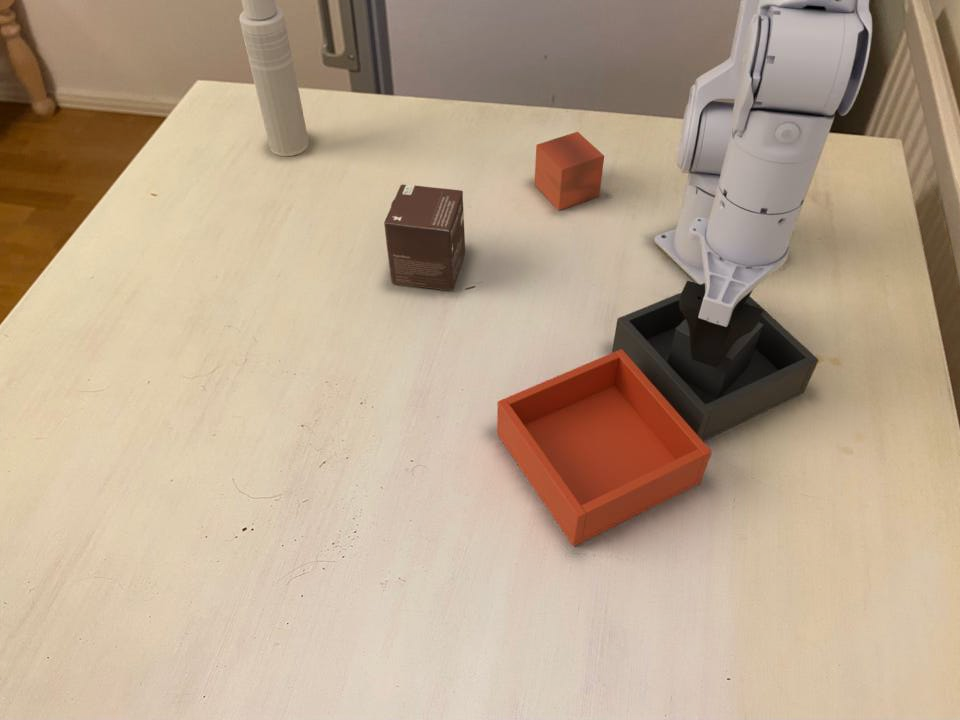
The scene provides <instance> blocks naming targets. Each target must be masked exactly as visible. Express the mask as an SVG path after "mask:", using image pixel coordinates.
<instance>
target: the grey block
mask: <svg viewBox="0 0 960 720" xmlns="http://www.w3.org/2000/svg"><path fill="white" fill-rule="evenodd" d="M762 327H763V324H762V323H760V322H759V323H758V325H757V326H756V327H755V328H754V329H753V331H752V332H750V333H748V334H746V335H744V336H742V337H741V338H740V339H738V340H737V341H736V342H735V343H734V345H733V346H732V347H731V349H730V350H729V352H728V354H727V355H726V357H725V358H724V360H723V361H722V362H721V363H720V364H719V365H718V367H713V366H710V365H707V364H704V363H701V362H698V361H695V360H692V358H691V351H690V333H689V327H688V324H687V321H686V319H685V320H684V321H683V322H682V323H681V324H680V325H679V326H678V327H677V328H676V331H675V335H674V339H673V343H672V347H671V351H670V355H669V359H668V364H669V365H670V366H671V367H672V368H673V370H674V371H675V372H676V373H677V374H678V375H679V376H680V377H681V378H682V379H683V380H685V381H686V382H688V383H690V384H691V385H693V386H695V387H697V388H698V389H700V390H702V391H703V392H705V393H707V394H708V395H710V396H712V397H713V398H715V399H719V398H720V397H721V396H722V395H723V394H724V392H725V391H726V390H727V389H728V388H729V387H730V386H731V385H732V384H733V382H734V381H735V380H736V379H737V378H738V377H739V376H740V375H741V373H742V372H743V371H744V370H745V369H746V368H747V367H748V366H749V363H750V360H751V358H752V355H753V352H754V349H755V347H756V344H757V341H758V338H759V336H760V333H761V330H762Z"/></svg>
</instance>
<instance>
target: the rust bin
mask: <svg viewBox="0 0 960 720" xmlns="http://www.w3.org/2000/svg"><path fill="white" fill-rule="evenodd" d="M496 419H497V420H496V421H497V423H496V425H497V426H496V434H497V435H498V437H499V439H500V440H501V441H502V443H503V444H504V446H505V447H506V449H507V451H508V452H509V453H510V455H511V456H512V458H513V459H514V461H515V463H516V464H517V465H518V467H519V468H520V470H521V471H522V472H523V474H524V475H525V477H526V479H527V480H528V481H529V483H530V484H531V486H532V488H533V489H534V490H535V492H536V493H537V494H538V496H539V498H540V499H541V501H542V502H543V504H544V505H545V507H546V508H547V509H548V511H549V512H550V514H551V516H552V517H553V518H554V520H555V521H556V523H557V524H558V526H559V527H560V529H561V530H562V532H563V533H564V535H565V536H566V537H567V539H568V541H569V542H570V544H571V545H572V546H573V547H575V546H576V547H577V546H578V545H579V544H581V543H584V542H586V541H587V540H589V539H592V538H593V537H596V536H598V535H599V534H601V533H604V532H605V531H608V530H610V529H611V528H613V527H615V526H617V525H619V524H622V523H624V522H625V521H628V520H629V519H631V518H634V517H635V516H637V515H639V514H642V513H644V512H645V511H647V510H650V509H651V508H654V507H655V506H657V505H659V504H661V503H664V502H665V501H668V500H670V499H672V498H673V497H676V496H677V495H680V494H681V493H683V492H685V491H687V490H690V489H691V488H693V487H695V486H697V485H699V484H701V483H702V482H703V478H704V475H705V473H706V472H705V471H706V469H707V466H708V464H709V461H710V458H711V457H712V450H711V449H710V448H709V447H708V445H707V444H706V443H705V442H704V441H702V440H701V439H700V437H699V436H698V435H697V434H696V433H695V432H694V431H693V429H692V428H691V427H690V426H689V425H688V424H687V423H686V422H685V420H684V419H683V418H682V417H681V416H680V415H679V414H678V412H677V411H676V410H675V409H674V408H673V407H672V406H671V404H670V403H669V402H668V401H667V400H666V399H665V398H664V396H663V395H662V394H661V393H660V392H659V391H658V390H657V389H656V387H655V386H654V385H653V384H652V383H651V382H650V381H649V379H648V378H647V377H646V376H645V375H644V374H643V373H642V371H641V370H640V369H639V368H638V367H637V366H636V365H635V363H634V362H633V361H632V360H631V359H630V358H629V357H628V355H627V354H626V353H625V352H624V351H623V350H622V349H621V350H618V351H616V352H611V353H609V354H606V355H604V356H602V357H599V358H597V359H594V360H592V361H590V362H587V363H585V364H583V365H581V366H578V367H576V368H573V369H571V370H569V371H566V372H564V373H562V374H560V375H556V376H554V377H553V378H550V379H547V380H544V381H543V382H540V383H538V384H535V385H533V386H530V387H528V388H527V389H523V390H521V391H518V392H517V393H514V394H512V395H510V396H507V397H505V398H502V399H500V400H498V401H497V418H496Z"/></svg>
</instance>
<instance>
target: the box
mask: <svg viewBox="0 0 960 720" xmlns="http://www.w3.org/2000/svg"><path fill="white" fill-rule="evenodd" d="M383 225H384V233H385V234H384V235H385V242H386V251H387V259H388V265H389V273H390V274H389V275H390V282H391V283H392V284H394V285H402V286H411V287H418V288H428V289H433V290H434V289H435V290H441V291H453V289H454V287H455V285H456V282H457V279H458V277H459V273H460V269H461V266H462V264H463V260H464V257H465V254H466V239H465V238H466V235H465V213H464V190H460V189H450V188H443V187H441V188H440V187H434V186H433V187H432V186H423V185H416V184H415V185H413V184H400V186H399V188H398V190H397V192H396V195H395V197H394V198H393V200H392V202H391V204H390V209H389V211H388V213H387V215H386V217H385V219H384V223H383Z"/></svg>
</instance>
